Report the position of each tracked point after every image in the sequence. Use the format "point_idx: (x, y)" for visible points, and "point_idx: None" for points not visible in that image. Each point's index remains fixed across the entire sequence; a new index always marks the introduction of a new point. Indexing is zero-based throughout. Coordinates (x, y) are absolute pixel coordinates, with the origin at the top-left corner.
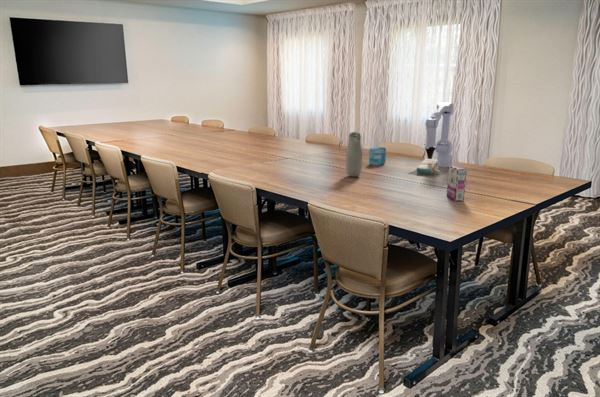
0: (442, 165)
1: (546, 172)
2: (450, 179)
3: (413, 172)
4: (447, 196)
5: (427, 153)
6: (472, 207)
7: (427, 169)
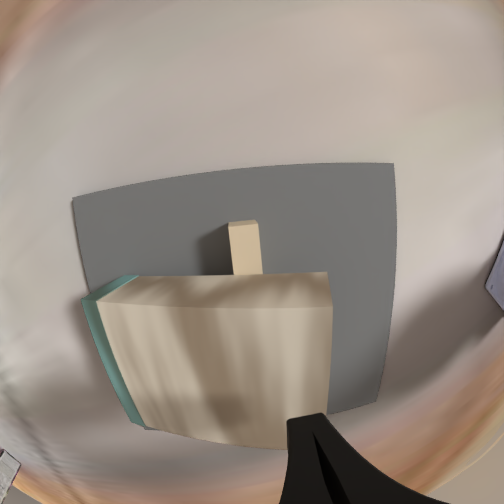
0: (501, 286)
1: (442, 484)
2: None
3: (159, 212)
4: (3, 450)
5: (284, 497)
6: None
7: (121, 400)
